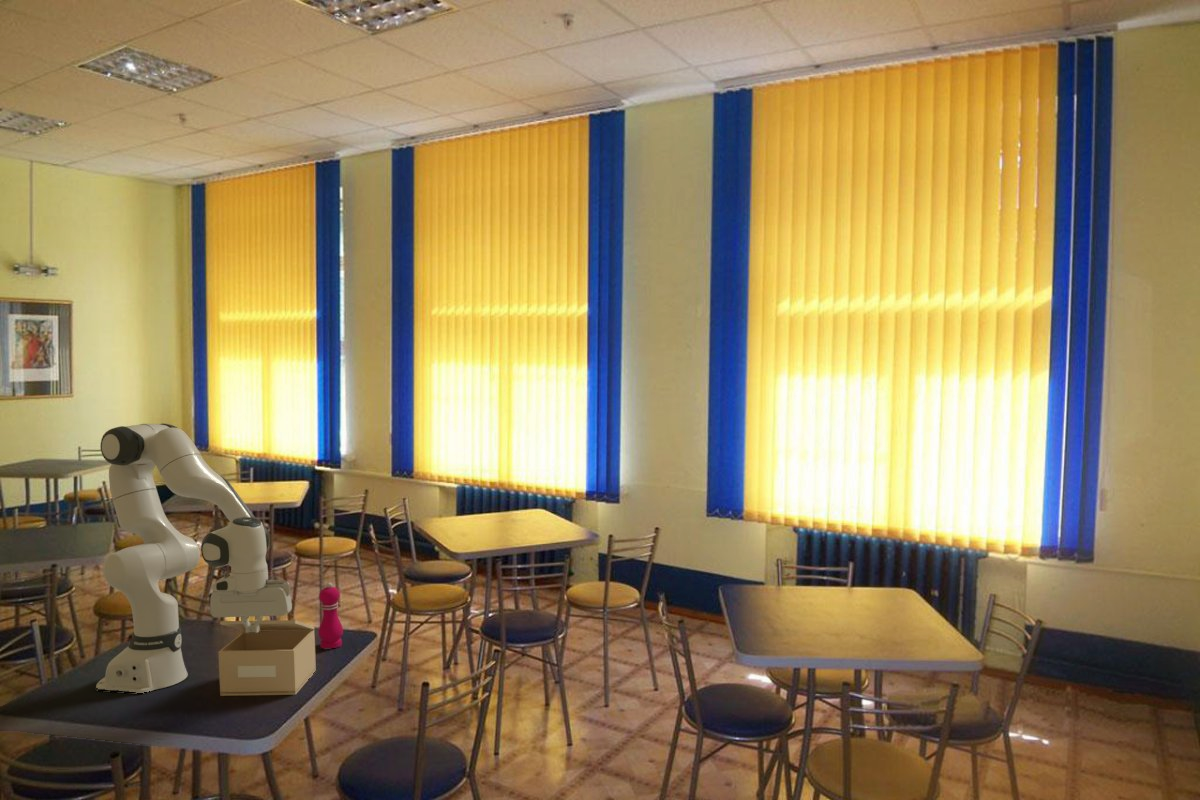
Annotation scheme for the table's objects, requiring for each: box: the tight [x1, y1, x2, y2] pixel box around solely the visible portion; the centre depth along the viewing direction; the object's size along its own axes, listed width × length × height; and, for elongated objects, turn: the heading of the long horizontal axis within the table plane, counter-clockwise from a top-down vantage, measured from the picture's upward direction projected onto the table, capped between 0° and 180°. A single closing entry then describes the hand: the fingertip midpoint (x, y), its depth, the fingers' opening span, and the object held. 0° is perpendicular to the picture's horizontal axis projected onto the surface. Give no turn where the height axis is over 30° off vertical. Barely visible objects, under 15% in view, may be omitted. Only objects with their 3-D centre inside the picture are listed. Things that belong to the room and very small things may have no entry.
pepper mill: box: [318, 581, 344, 649], centre depth 257 cm, size 7×7×20 cm
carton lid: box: [219, 619, 316, 631], centre depth 230 cm, size 20×16×1 cm
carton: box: [217, 629, 317, 697], centre depth 229 cm, size 20×16×12 cm
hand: (252, 632), depth 219 cm, fingers closed
